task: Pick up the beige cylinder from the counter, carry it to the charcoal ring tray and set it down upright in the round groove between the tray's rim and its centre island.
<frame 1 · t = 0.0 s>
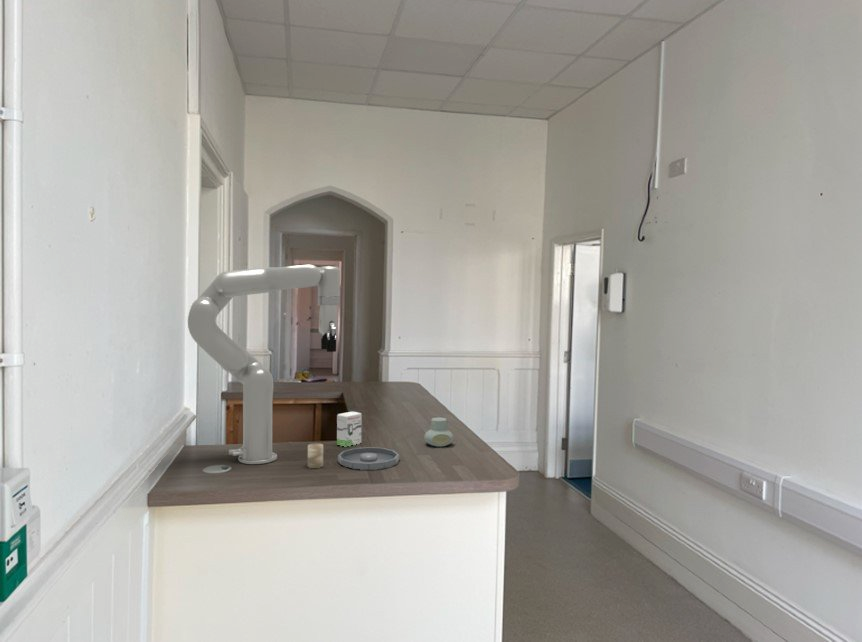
hand: (328, 350, 206), 37 cm above the worktop, tool pointing down, fingers open, 9 cm apart
ring tray: (368, 461, 198), on the worktop
air freshener: (438, 445, 222), on the worktop
ink box: (349, 445, 220), on the worktop
beige cylinder: (315, 466, 192), on the worktop
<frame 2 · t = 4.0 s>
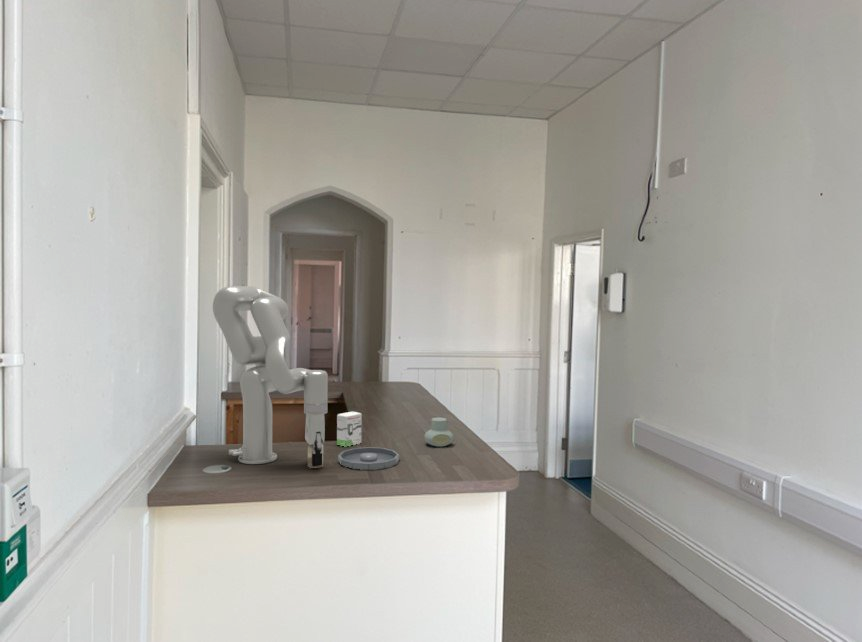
hand: (315, 462, 192), 1 cm above the worktop, tool pointing down, fingers closed on beige cylinder, 4 cm apart
beige cylinder: (315, 466, 192), on the worktop, touching gripper
everything else where it was.
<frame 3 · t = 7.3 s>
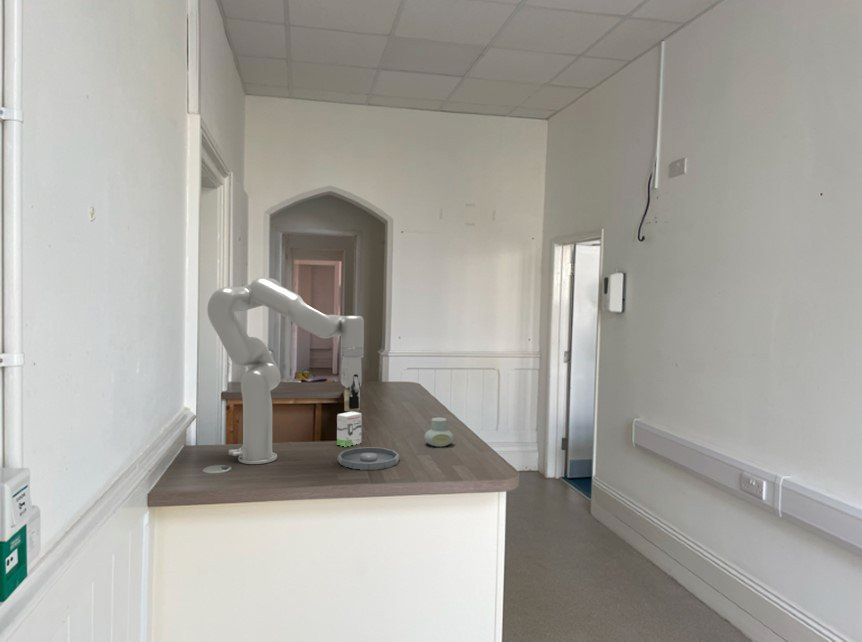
hand: (351, 406, 195), 19 cm above the worktop, tool pointing down, fingers closed on beige cylinder, 4 cm apart
beige cylinder: (351, 410, 195), point 18 cm above the worktop, touching gripper
everything else where it was.
when the fingers open (4 cm above the worktop, at t = 10.9 s): beige cylinder drops 2 cm, resting on ring tray.
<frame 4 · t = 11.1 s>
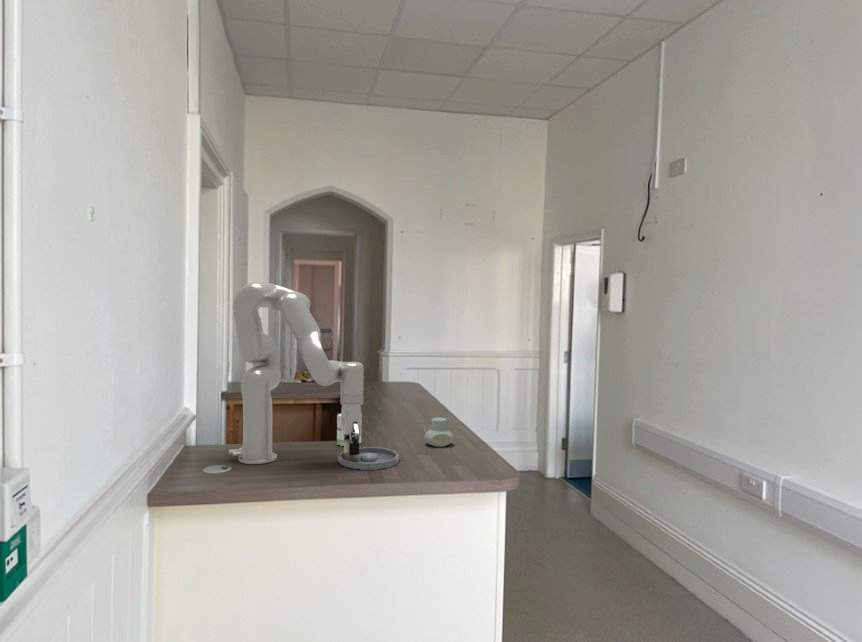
hand: (351, 451, 196), 4 cm above the worktop, tool pointing down, fingers open, 7 cm apart
beige cylinder: (351, 461, 196), point 1 cm above the worktop, touching ring tray
everything else where it was.
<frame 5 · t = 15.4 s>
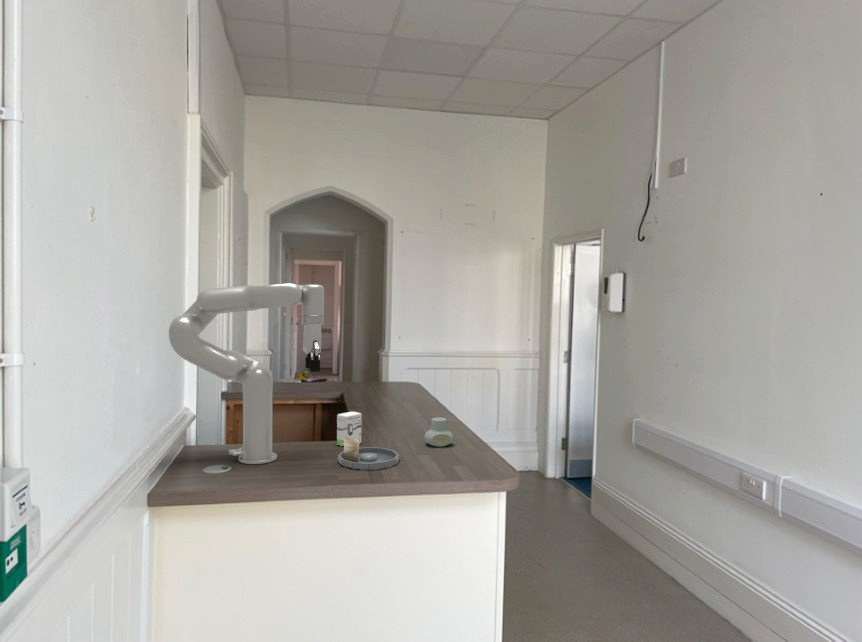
hand: (312, 369, 202), 30 cm above the worktop, tool pointing down, fingers open, 9 cm apart
nothing on the worktop moved.
at the end: beige cylinder 0.1 cm from the target spot on the ring tray, point 0.6 cm above the ring tray's base; beige cylinder tilted 0°; the gripper is holding nothing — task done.
